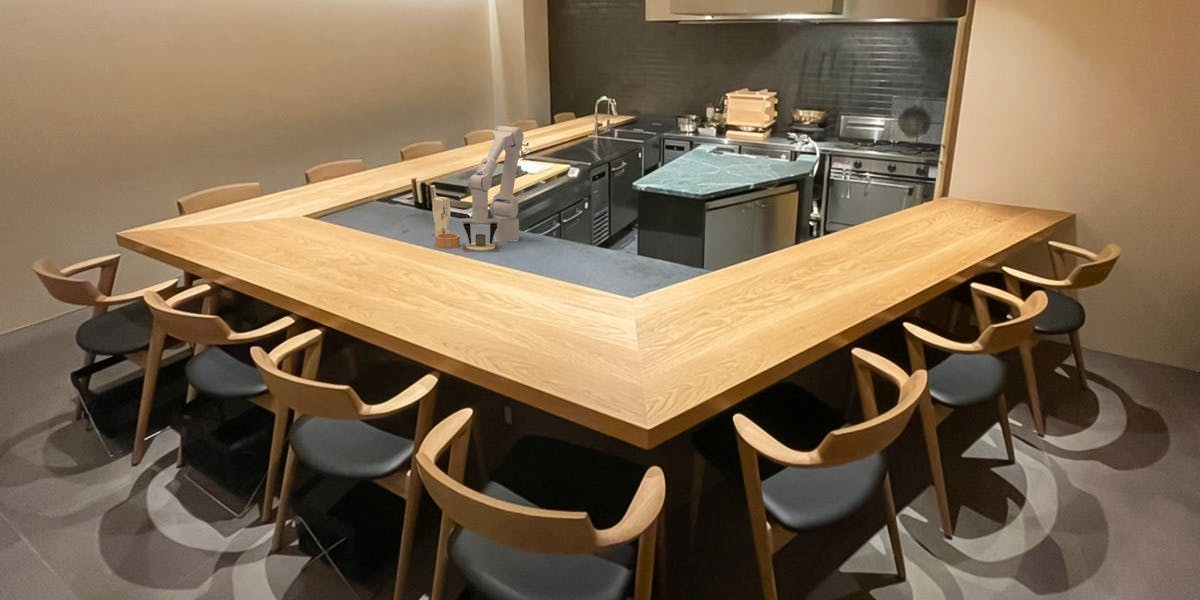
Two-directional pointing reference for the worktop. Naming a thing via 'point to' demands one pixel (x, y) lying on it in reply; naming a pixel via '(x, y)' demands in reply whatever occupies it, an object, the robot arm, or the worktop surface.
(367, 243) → the worktop surface
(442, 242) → the bowl
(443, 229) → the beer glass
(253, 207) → the worktop surface
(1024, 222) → the worktop surface
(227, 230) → the worktop surface
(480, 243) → the lid
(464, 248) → the mat
